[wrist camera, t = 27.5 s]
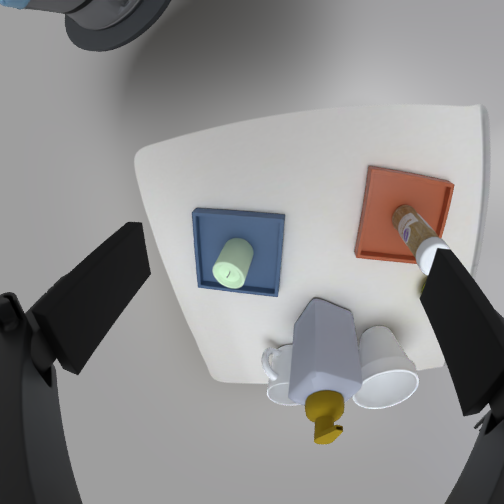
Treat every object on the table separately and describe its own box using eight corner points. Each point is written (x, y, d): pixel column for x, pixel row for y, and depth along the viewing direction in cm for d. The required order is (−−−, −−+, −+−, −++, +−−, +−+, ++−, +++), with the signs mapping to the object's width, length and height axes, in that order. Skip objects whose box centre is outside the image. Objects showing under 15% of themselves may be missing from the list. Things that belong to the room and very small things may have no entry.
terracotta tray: (368, 165, 38) (371, 168, 36) (448, 180, 36) (454, 184, 35) (354, 251, 45) (356, 258, 43) (428, 259, 43) (432, 265, 41)
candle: (236, 269, 49) (225, 298, 42) (217, 247, 48) (202, 274, 41) (259, 255, 47) (251, 283, 40) (240, 231, 46) (228, 257, 39)
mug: (252, 344, 59) (243, 382, 50) (282, 326, 55) (276, 367, 46) (290, 372, 61) (286, 409, 52) (319, 357, 58) (318, 396, 49)
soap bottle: (355, 311, 51) (371, 432, 29) (330, 341, 55) (332, 455, 33) (313, 294, 50) (312, 421, 28) (291, 326, 55) (278, 445, 33)
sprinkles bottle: (390, 205, 40) (421, 246, 28) (417, 202, 39) (454, 241, 27) (391, 232, 42) (418, 280, 30) (417, 229, 41) (450, 274, 29)
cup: (377, 363, 56) (385, 414, 45) (335, 346, 55) (337, 400, 44) (415, 328, 50) (432, 379, 39) (373, 306, 49) (386, 361, 38)
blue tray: (196, 207, 46) (191, 212, 44) (284, 214, 44) (284, 219, 42) (201, 281, 53) (197, 287, 51) (278, 290, 51) (277, 297, 49)
